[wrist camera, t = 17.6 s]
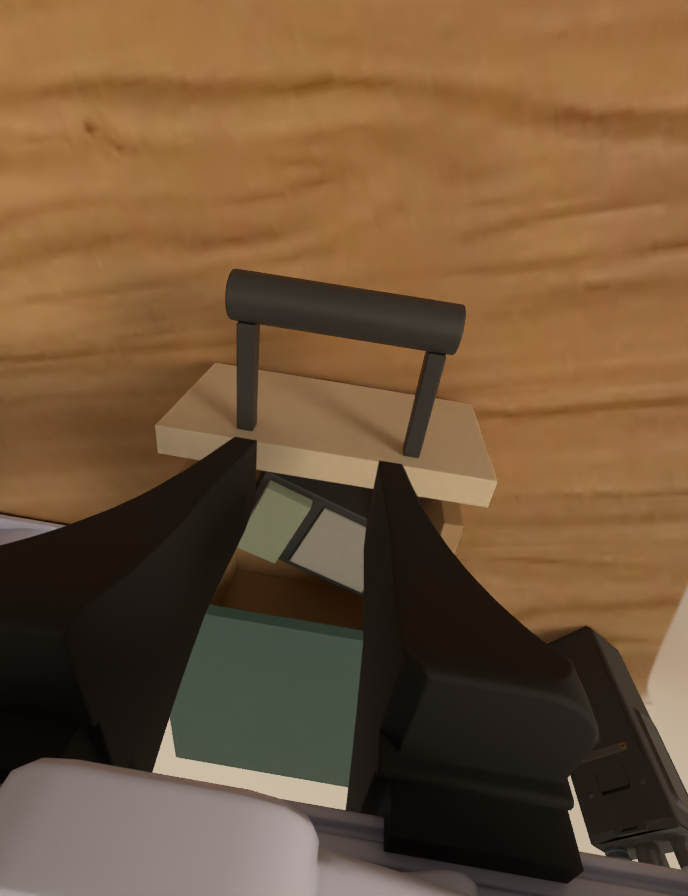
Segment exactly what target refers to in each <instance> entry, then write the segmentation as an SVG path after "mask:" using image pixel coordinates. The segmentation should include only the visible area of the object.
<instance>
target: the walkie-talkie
mask: <svg viewBox="0 0 688 896" xmlns="http://www.w3.org/2000/svg"><path fill="white" fill-rule="evenodd" d="M548 645H549V646H550V647H551V648H553V649H554V650H555V651H556V652H558V653H559V654H560V655H562V656H563V657H564V658H565V659H567V660H568V661H569V662H571V663H572V664H573V666H574V668H575V671H576V673H577V675H578V677H579V679H580V681H581V683H582V685H583V688H584V690H585V692H586V695H587V697H588V700H589V702H590V705H591V708H592V711H593V714H594V716H595V719H596V722H597V725H598V727H599V728H598V740H597V742H596V743H595V745H594V747H593V749H592V750H591V752H590V753H589V755H588V756H587V757H586V758H585V759H584V760H583V761H582V762H581V763H580V765H579V766H578V767H577V768H576V769H575V770H574V771H573V772H572V773H571V778H572V782H573V785H574V788H575V792H576V795H577V798H578V801H579V805H580V808H581V812H582V815H583V818H584V822H585V825H586V828H587V832H588V835H589V838H590V841H591V844H592V845H593V846H595V847H596V848H598V849H600V850H601V851H603V852H605V855H606V856H607V857H612V858H618V859H624V860H629V861H632V860H634V859H638V862H641V863H647V864H652V865H658V866H664V867H669V868H670V866H669V864H668V862H667V859H666V856H665V853H670V852H674V853H675V855H676V858H677V860H678V863H679V865H680V867H681V870H686V871H688V794H687V792H686V790H685V788H684V786H683V783H682V781H681V779H680V777H679V775H678V773H677V771H676V769H675V766H674V765H673V762H672V760H671V758H670V756H669V754H668V752H667V750H666V748H665V746H664V743H663V741H662V739H661V737H660V735H659V733H658V731H657V729H656V727H655V725H654V724H653V722H652V720H651V718H650V716H649V714H648V712H647V710H646V708H645V705H644V703H643V701H642V699H641V697H640V695H639V693H638V691H637V689H636V687H635V684H634V682H633V680H632V678H631V676H630V674H629V672H628V670H627V668H626V665H625V663H624V661H623V659H622V657H621V655H620V653H619V652H618V650H617V649H616V648H614V647H613V646H612V645H611V644H610V643H608V642H607V641H606V640H605V639H603V638H602V637H601V636H600V635H599V634H597V633H596V632H595V631H594V630H593V629H591V628H589V627H585V628H582V629H580V630H578V631H576V632H574V633H572V634H570V635H567V636H565V637H563V638H561V639H559V640H557V641H555V642H552V643H550V644H548Z"/></svg>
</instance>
